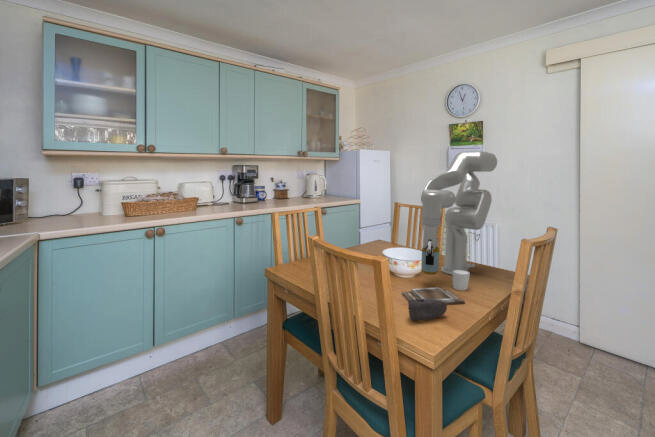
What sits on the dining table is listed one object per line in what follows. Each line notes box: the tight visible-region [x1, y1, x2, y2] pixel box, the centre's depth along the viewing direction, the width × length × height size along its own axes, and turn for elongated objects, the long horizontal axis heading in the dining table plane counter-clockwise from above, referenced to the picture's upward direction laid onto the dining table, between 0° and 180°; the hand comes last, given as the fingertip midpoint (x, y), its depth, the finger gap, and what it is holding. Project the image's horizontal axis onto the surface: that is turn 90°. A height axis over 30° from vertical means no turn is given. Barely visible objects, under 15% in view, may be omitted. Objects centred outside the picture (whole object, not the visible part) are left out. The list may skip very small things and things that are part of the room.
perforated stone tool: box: [407, 299, 448, 322], centre depth 106 cm, size 15×5×7 cm, turn 101°
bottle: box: [421, 237, 440, 276], centre depth 135 cm, size 7×7×15 cm
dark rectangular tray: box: [401, 286, 466, 306], centre depth 122 cm, size 20×12×2 cm, turn 98°
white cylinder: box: [451, 270, 471, 291], centre depth 132 cm, size 7×7×7 cm
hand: (430, 261), depth 135 cm, fingers closed on bottle, 6 cm apart
